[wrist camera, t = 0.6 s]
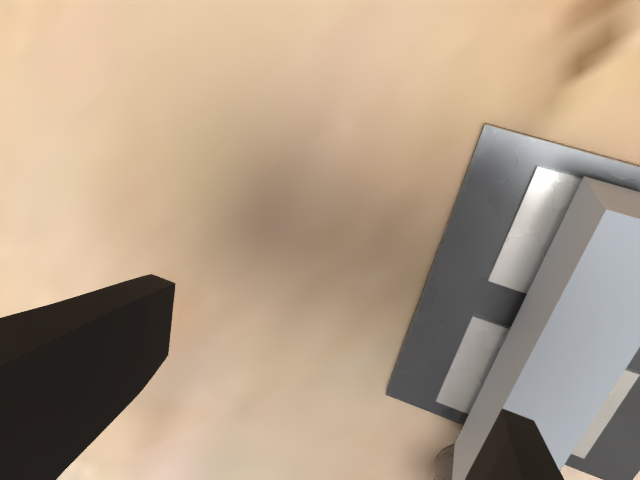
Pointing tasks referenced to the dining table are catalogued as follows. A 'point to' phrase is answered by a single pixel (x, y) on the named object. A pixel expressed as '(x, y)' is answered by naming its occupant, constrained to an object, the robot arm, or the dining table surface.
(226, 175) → the dining table surface
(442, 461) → the post
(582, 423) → the gray rectangular box
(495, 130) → the label panel
